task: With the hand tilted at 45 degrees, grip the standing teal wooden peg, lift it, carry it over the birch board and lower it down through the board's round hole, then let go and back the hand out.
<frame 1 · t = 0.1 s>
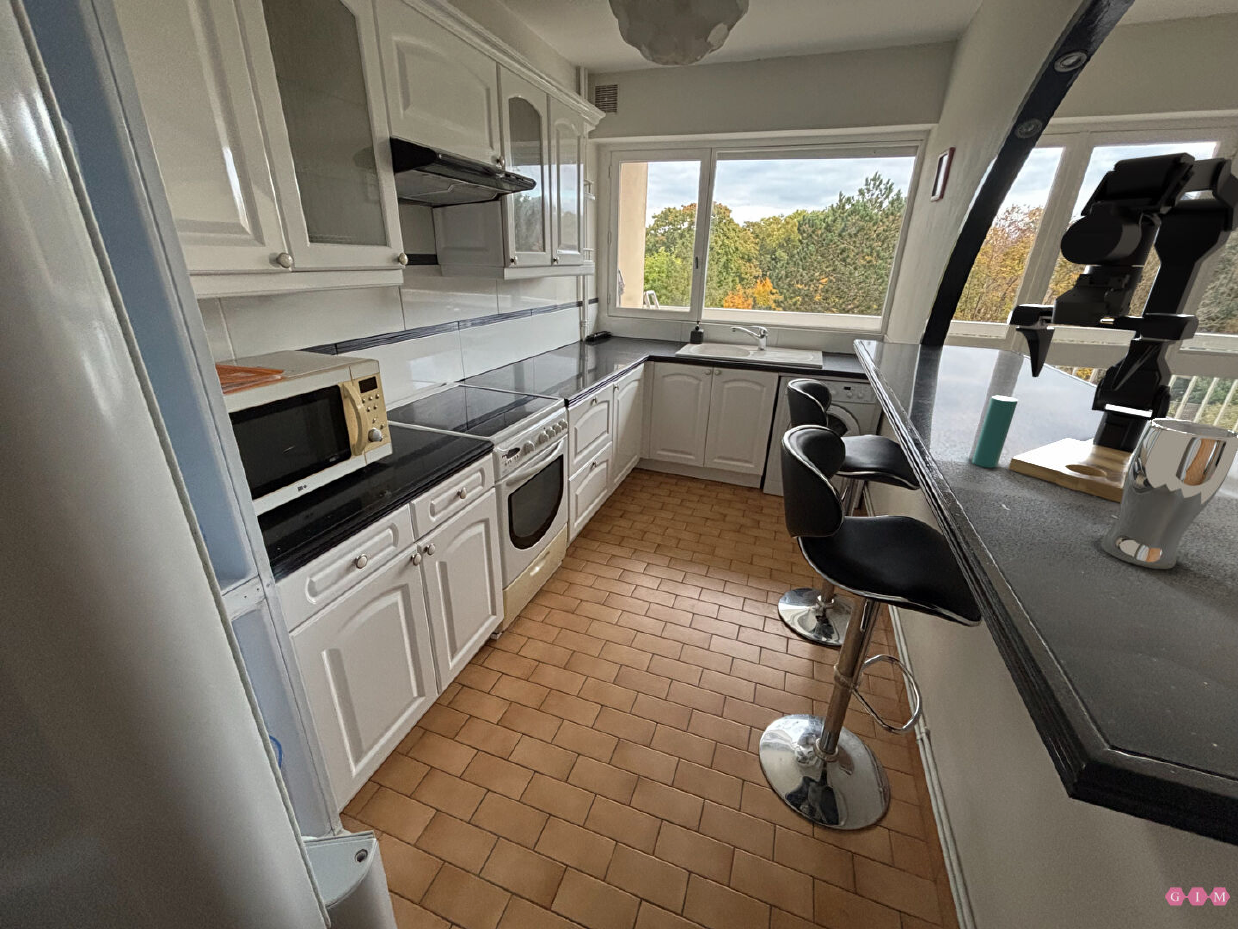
hand: (1072, 383, 72), 15 cm above the countertop, tool pointing down, fingers open, 9 cm apart
board: (1089, 472, 80), on the countertop
peg: (984, 464, 82), on the countertop
beer glass: (1135, 556, 57), on the countertop
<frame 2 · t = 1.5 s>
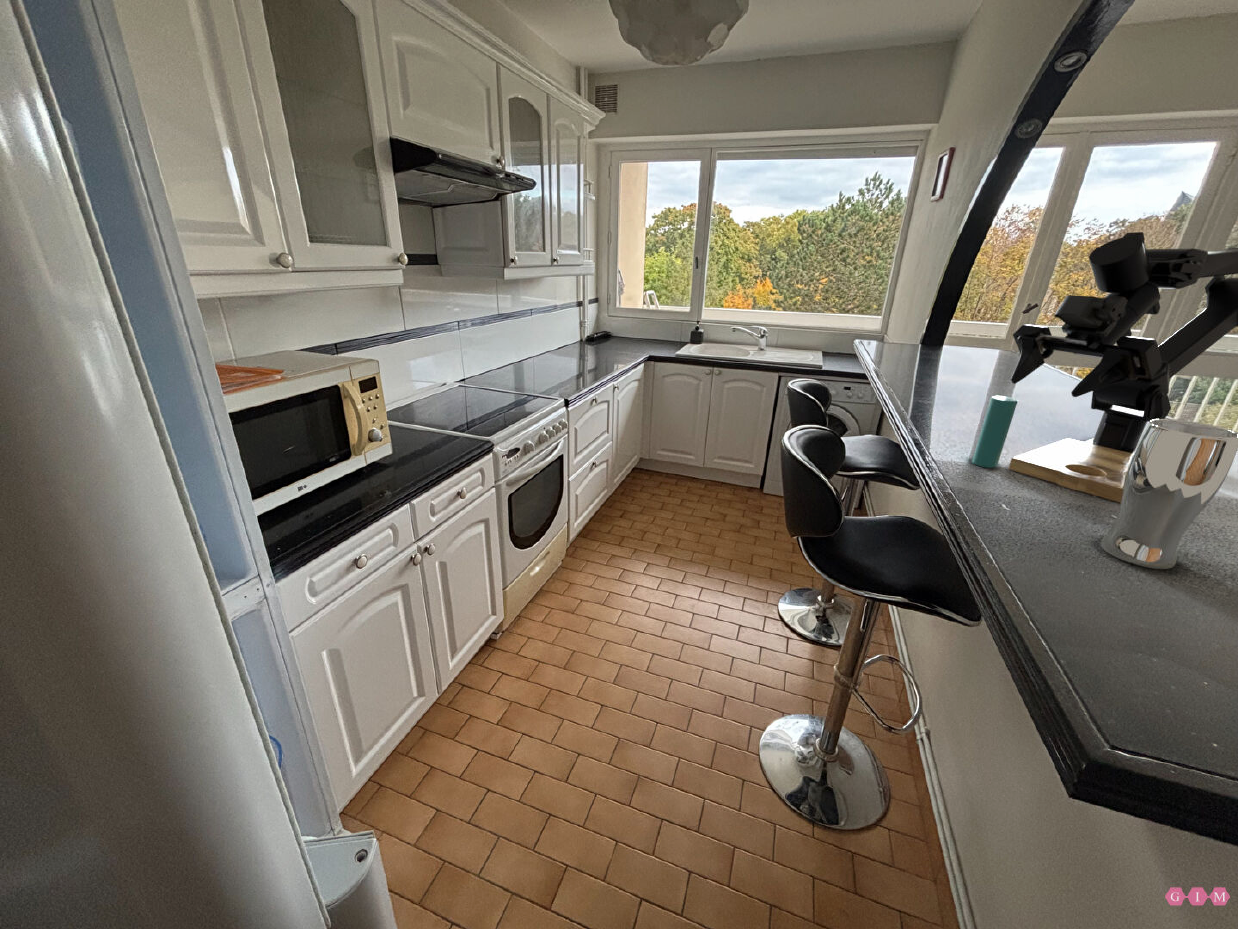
hand: (1041, 388, 80), 12 cm above the countertop, tool tilted 45°, fingers open, 9 cm apart
nothing on the countertop moved.
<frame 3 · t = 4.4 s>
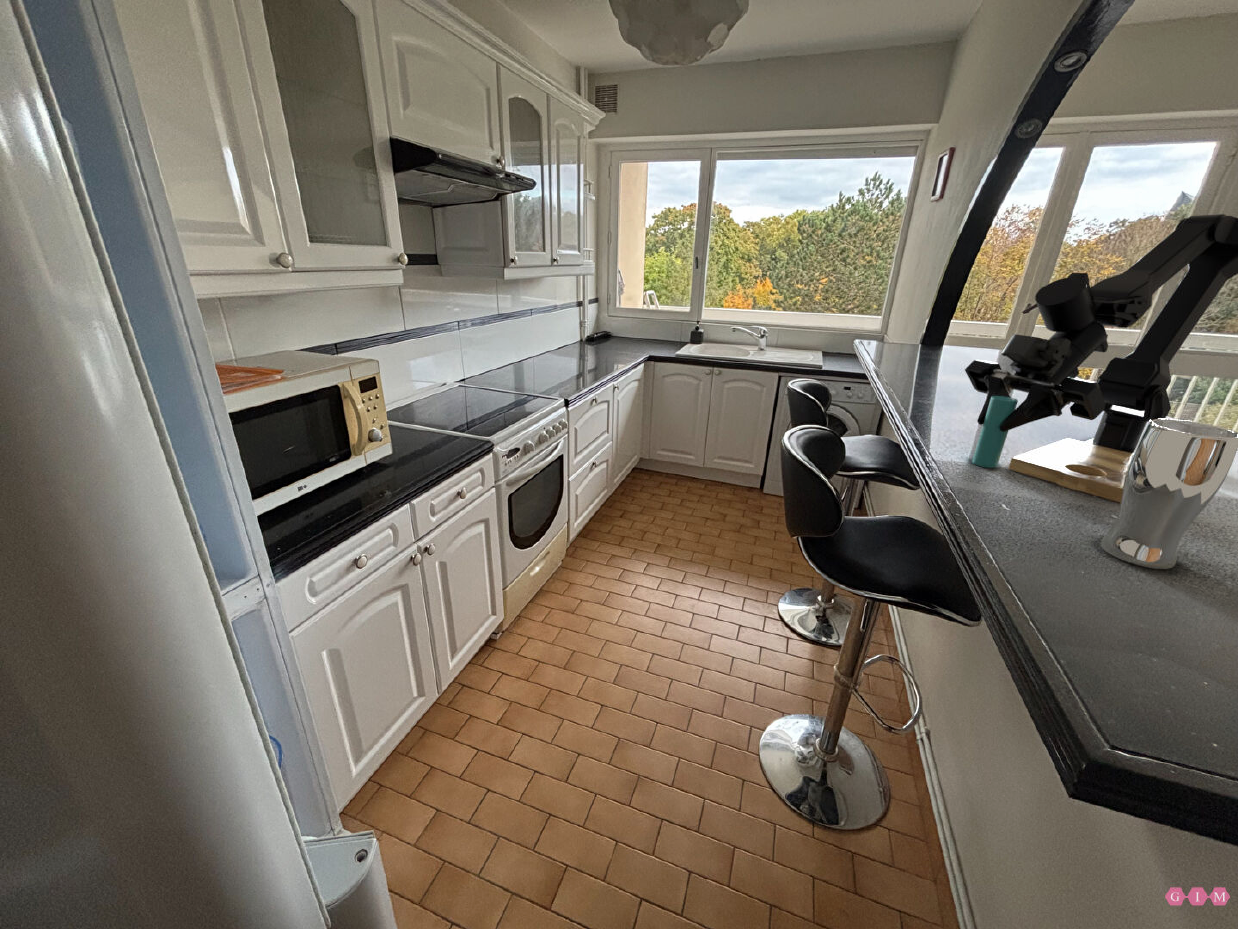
hand: (989, 426, 80), 7 cm above the countertop, tool tilted 45°, fingers closed on peg, 3 cm apart
peg: (984, 464, 82), on the countertop, touching gripper
everything else where it was.
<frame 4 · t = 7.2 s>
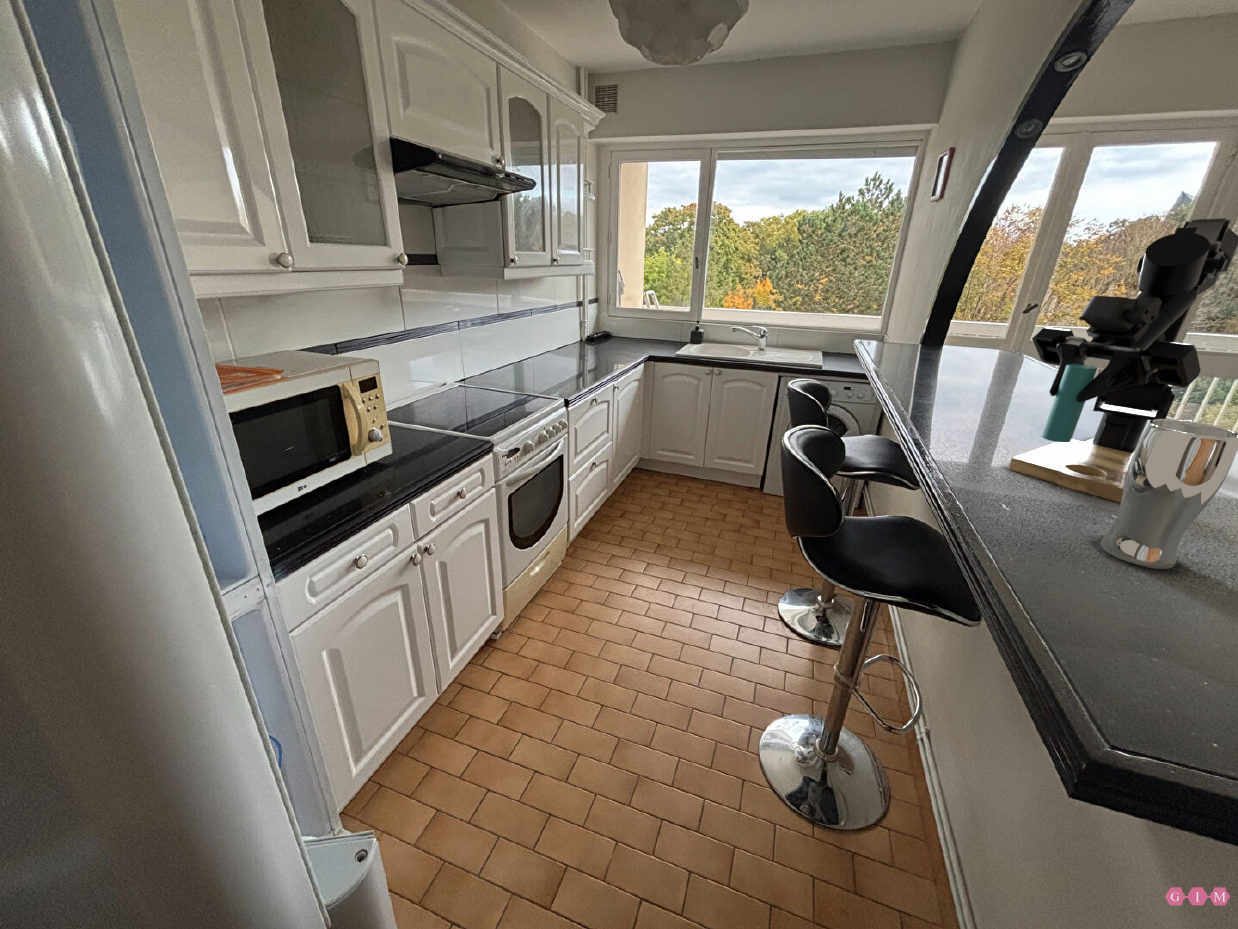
hand: (1064, 397, 73), 12 cm above the countertop, tool tilted 45°, fingers closed on peg, 3 cm apart
peg: (1055, 439, 76), point 6 cm above the countertop, touching gripper
everything else where it was.
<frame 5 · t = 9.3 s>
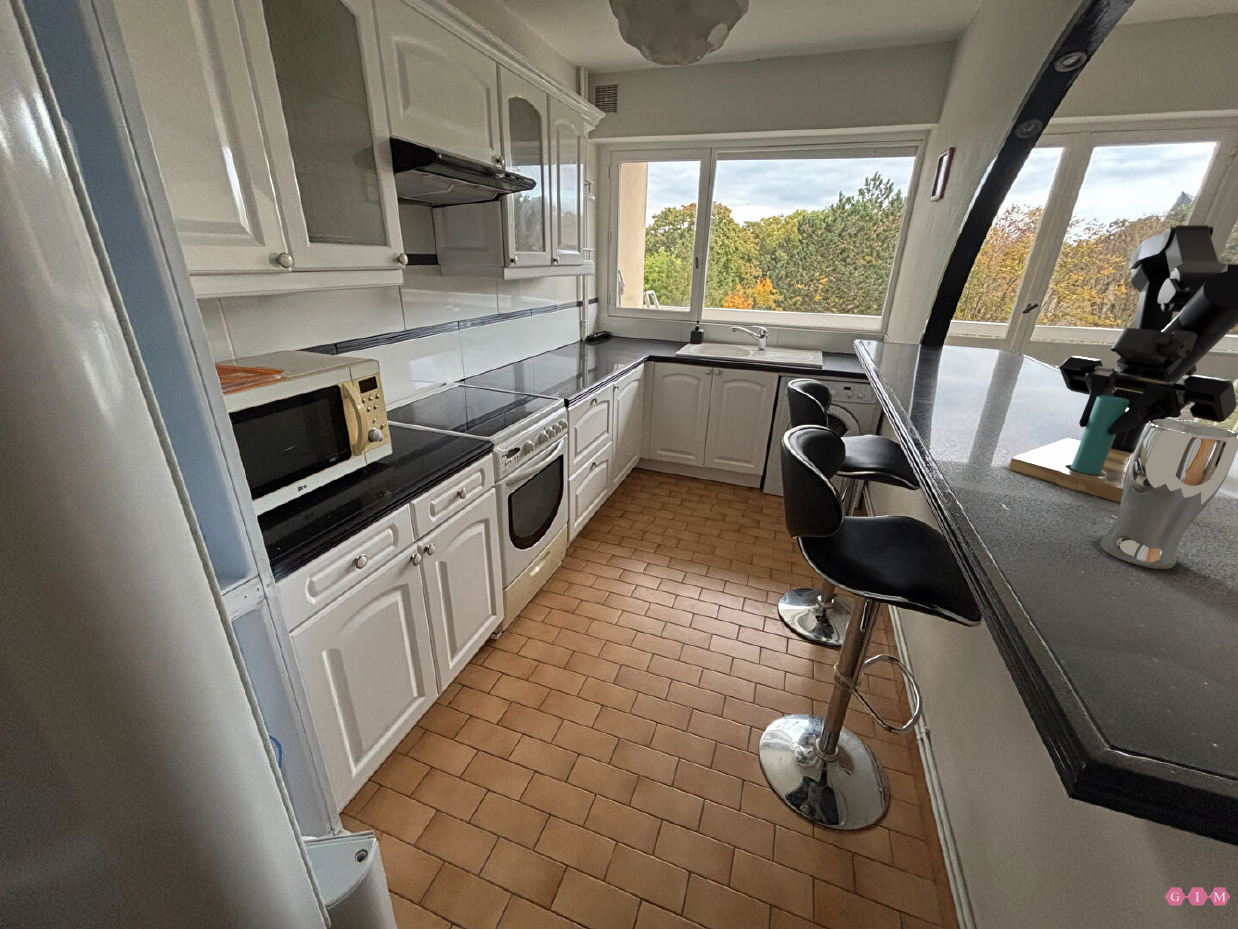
hand: (1095, 429, 72), 9 cm above the countertop, tool tilted 45°, fingers closed on peg, 3 cm apart
peg: (1085, 470, 75), point 2 cm above the countertop, touching gripper
everything else where it was.
when the fingers open (7 cm above the countertop, at t = 10.3 s): peg stays where it is, resting in board.
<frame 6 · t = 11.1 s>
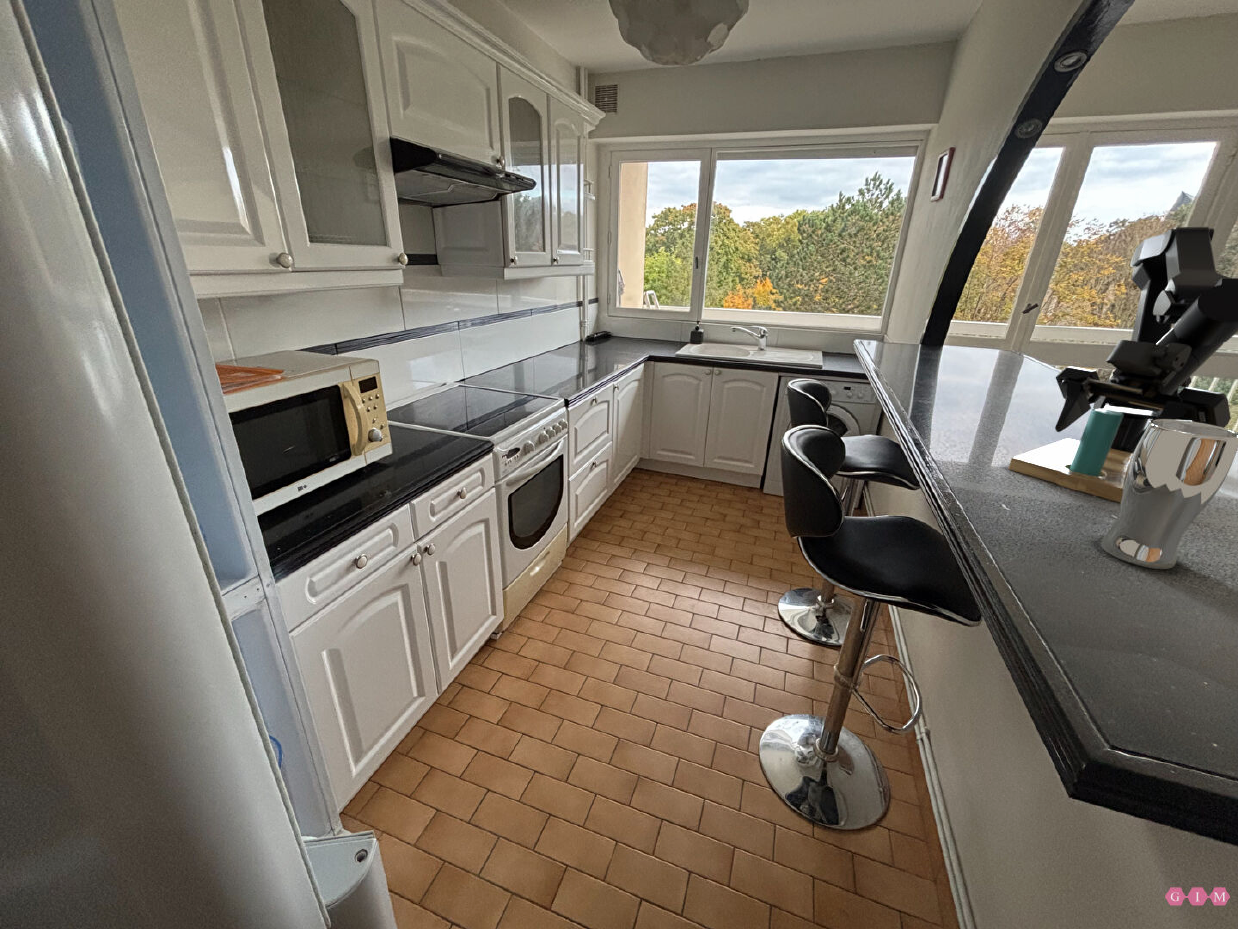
hand: (1090, 439, 73), 7 cm above the countertop, tool tilted 45°, fingers open, 9 cm apart
peg: (1080, 482, 76), resting in board
everything else where it was.
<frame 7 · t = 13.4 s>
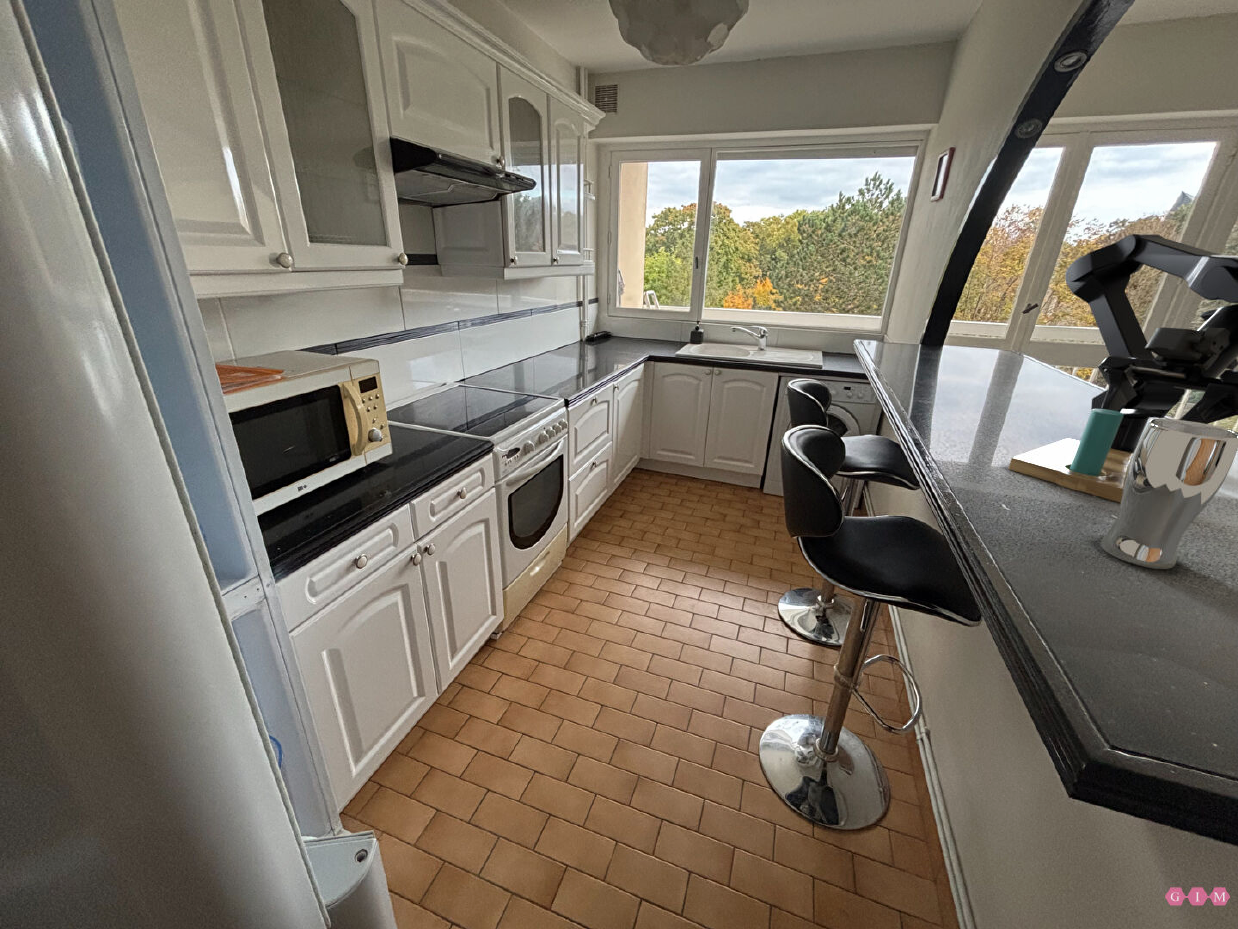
hand: (1134, 425, 75), 8 cm above the countertop, tool tilted 40°, fingers open, 9 cm apart
nothing on the countertop moved.
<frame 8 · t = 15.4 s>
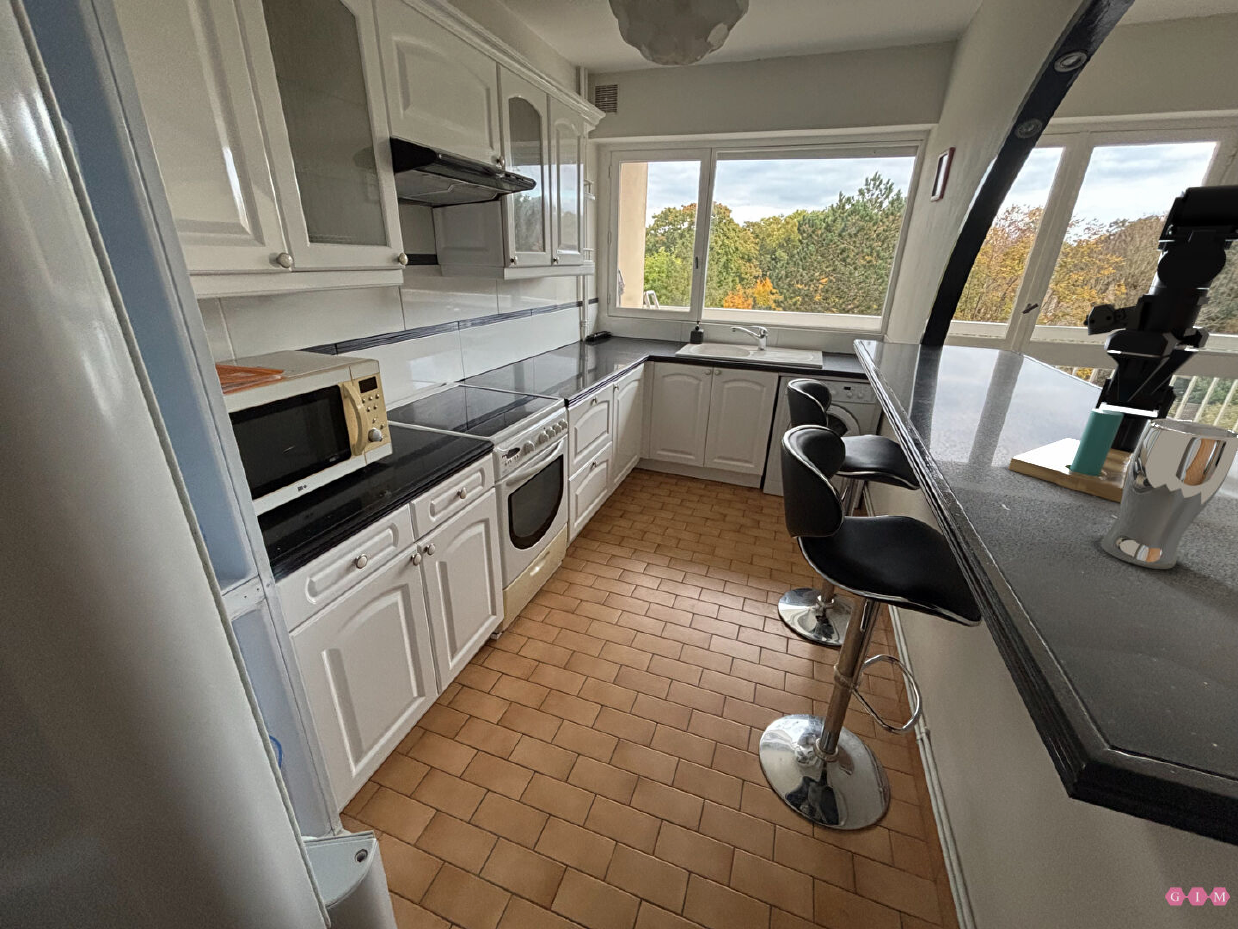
hand: (1134, 397, 76), 12 cm above the countertop, tool pointing down, fingers open, 9 cm apart
nothing on the countertop moved.
at the end: peg 0.0 cm from the target spot in the board, point 0.0 cm above the board's base; peg tilted 0°; the gripper is holding nothing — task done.
